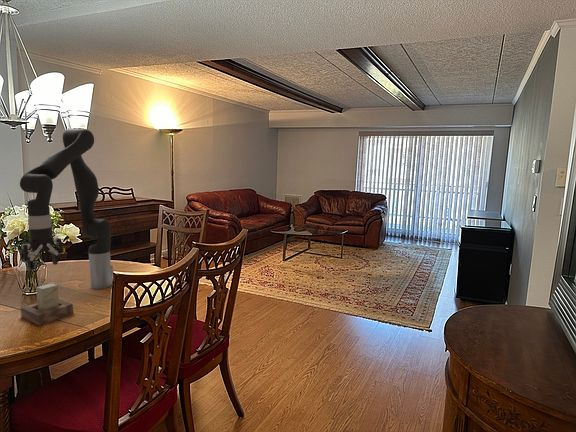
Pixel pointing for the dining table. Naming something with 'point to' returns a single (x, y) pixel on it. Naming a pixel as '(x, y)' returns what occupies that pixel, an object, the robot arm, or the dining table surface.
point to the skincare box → (47, 297)
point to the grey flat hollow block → (46, 312)
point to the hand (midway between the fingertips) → (43, 267)
